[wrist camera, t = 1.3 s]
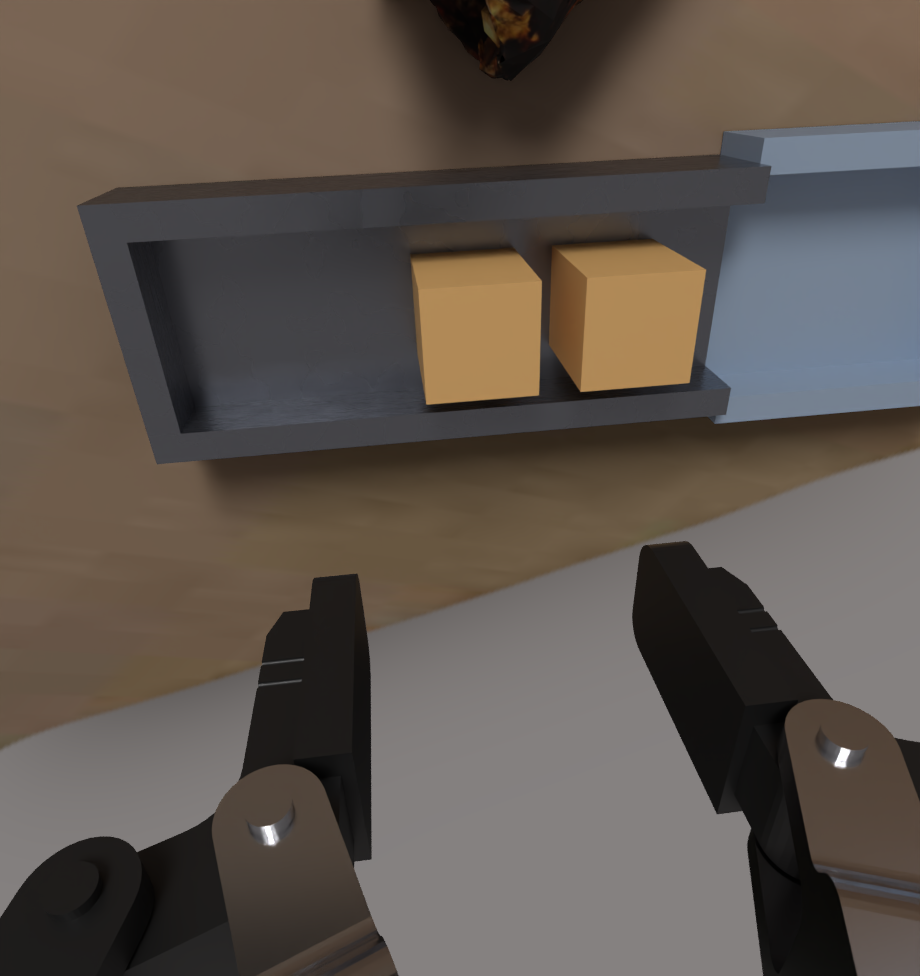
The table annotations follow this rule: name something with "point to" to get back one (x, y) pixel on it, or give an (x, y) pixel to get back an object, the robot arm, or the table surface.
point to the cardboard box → (624, 313)
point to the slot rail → (376, 296)
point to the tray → (822, 274)
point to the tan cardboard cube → (476, 325)
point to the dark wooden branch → (504, 30)
